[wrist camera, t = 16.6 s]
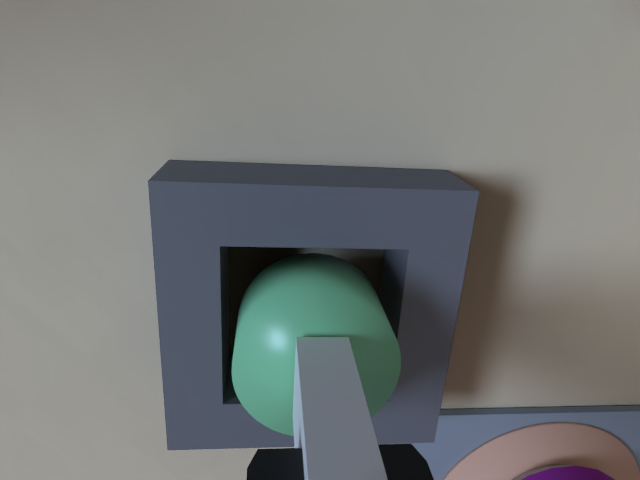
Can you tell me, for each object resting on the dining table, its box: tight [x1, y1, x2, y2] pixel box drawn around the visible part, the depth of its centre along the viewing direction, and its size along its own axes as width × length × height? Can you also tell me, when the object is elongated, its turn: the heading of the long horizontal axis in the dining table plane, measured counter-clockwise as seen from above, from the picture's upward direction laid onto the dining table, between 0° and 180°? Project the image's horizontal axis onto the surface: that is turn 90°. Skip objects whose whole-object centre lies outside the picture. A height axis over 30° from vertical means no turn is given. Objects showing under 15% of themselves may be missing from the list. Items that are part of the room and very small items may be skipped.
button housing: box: [148, 160, 479, 450], centre depth 17 cm, size 10×10×3 cm
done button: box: [231, 253, 401, 436], centre depth 15 cm, size 5×5×3 cm
